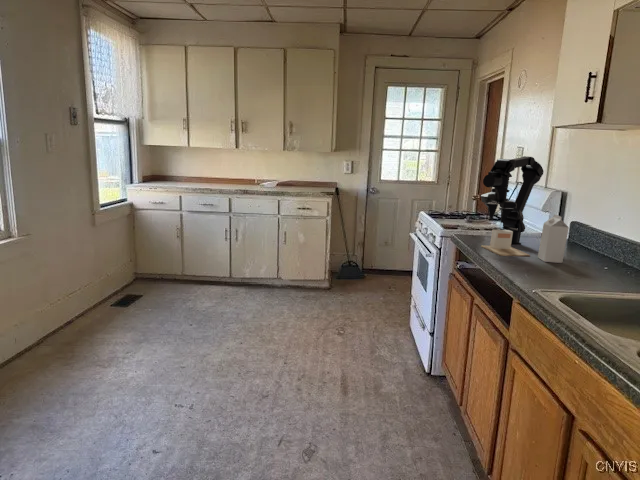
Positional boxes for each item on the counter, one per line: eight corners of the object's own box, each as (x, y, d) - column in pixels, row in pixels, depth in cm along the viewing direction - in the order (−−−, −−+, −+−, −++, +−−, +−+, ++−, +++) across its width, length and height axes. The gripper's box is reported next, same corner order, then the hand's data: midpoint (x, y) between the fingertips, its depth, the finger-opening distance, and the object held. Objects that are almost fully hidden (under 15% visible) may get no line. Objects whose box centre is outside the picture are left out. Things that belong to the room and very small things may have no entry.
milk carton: (554, 259, 184) (562, 214, 180) (562, 263, 177) (570, 217, 173) (537, 257, 185) (545, 213, 180) (544, 262, 178) (552, 216, 173)
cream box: (506, 247, 199) (508, 230, 197) (510, 249, 195) (513, 231, 193) (489, 246, 198) (492, 229, 196) (493, 248, 194) (496, 231, 192)
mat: (509, 247, 201) (509, 246, 201) (530, 256, 186) (530, 255, 186) (481, 246, 199) (481, 245, 199) (499, 255, 184) (499, 254, 184)
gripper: (474, 184, 204) (470, 216, 208) (496, 188, 187) (491, 224, 190) (496, 184, 206) (491, 217, 210) (519, 189, 188) (514, 224, 192)
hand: (496, 220), depth 200 cm, fingers open, 9 cm apart
